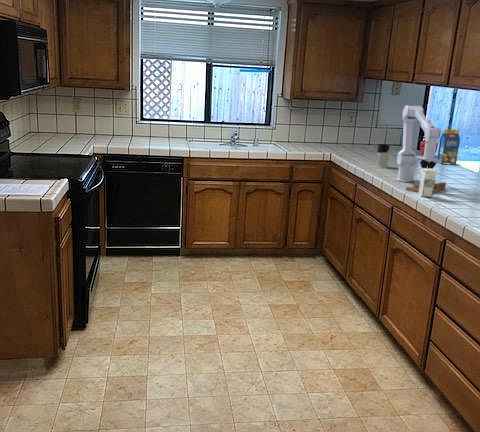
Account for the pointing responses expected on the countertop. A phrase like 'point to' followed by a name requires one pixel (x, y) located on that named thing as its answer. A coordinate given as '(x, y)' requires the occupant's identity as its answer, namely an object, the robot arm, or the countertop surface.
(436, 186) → the shelf
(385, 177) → the countertop surface
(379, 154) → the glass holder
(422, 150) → the plant pot
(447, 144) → the blue food package
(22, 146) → the countertop surface
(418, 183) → the tray
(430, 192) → the syrup box
